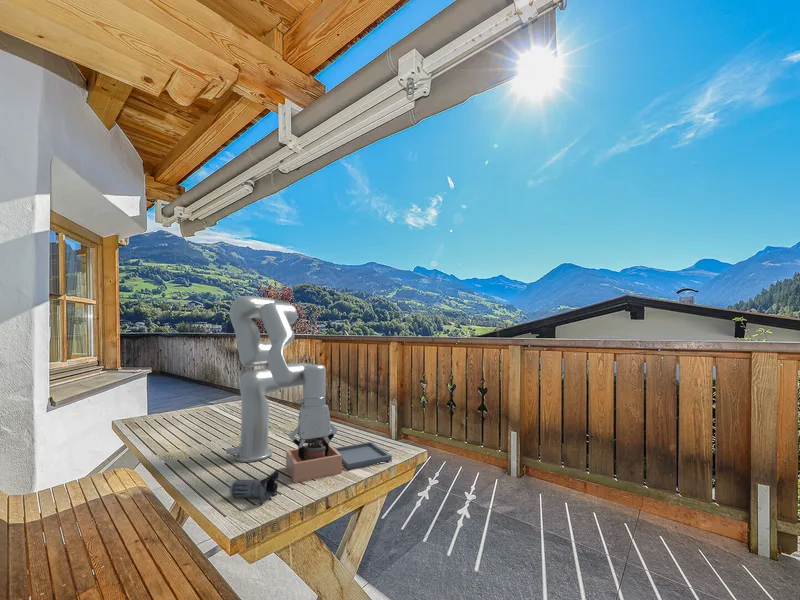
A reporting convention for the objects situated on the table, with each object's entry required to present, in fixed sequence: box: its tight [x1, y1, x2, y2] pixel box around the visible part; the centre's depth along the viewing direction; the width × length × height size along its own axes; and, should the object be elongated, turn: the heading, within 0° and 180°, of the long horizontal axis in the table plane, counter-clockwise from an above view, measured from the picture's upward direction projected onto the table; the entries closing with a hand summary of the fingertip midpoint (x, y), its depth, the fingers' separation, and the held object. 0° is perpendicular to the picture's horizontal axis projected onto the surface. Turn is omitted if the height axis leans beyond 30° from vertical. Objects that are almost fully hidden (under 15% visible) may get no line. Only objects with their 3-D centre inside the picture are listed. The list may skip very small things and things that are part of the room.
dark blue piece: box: [228, 470, 280, 506], centre depth 94 cm, size 9×8×12 cm
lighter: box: [302, 438, 325, 461], centre depth 113 cm, size 8×3×10 cm, turn 80°
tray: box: [334, 441, 393, 471], centre depth 124 cm, size 16×18×2 cm
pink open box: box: [285, 443, 343, 484], centre depth 113 cm, size 15×14×6 cm
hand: (313, 456), depth 113 cm, fingers closed on lighter, 7 cm apart
